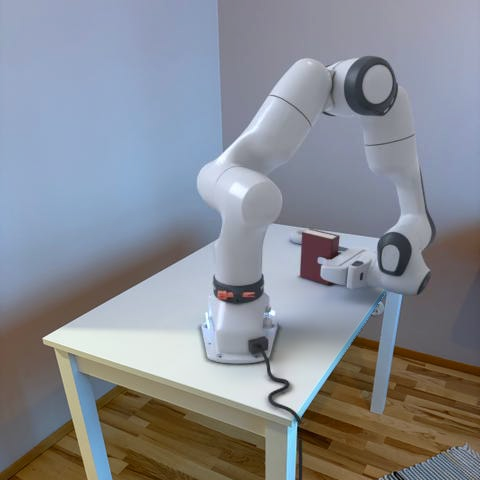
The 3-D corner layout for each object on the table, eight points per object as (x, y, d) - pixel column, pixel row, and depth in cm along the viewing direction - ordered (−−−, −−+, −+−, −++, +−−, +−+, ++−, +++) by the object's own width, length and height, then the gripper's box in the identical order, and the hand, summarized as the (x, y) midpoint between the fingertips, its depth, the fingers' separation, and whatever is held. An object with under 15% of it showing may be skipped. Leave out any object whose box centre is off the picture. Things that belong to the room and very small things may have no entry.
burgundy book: (328, 285, 135) (332, 239, 128) (299, 276, 140) (301, 232, 133) (335, 280, 137) (339, 235, 130) (307, 272, 143) (309, 228, 136)
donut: (288, 236, 171) (290, 245, 162) (289, 227, 169) (290, 236, 161) (316, 236, 171) (319, 245, 162) (316, 227, 169) (319, 236, 160)
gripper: (386, 246, 132) (342, 236, 139) (351, 269, 118) (305, 257, 126) (383, 266, 135) (340, 255, 143) (348, 291, 121) (304, 278, 129)
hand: (323, 256), depth 134 cm, fingers closed on burgundy book, 4 cm apart
